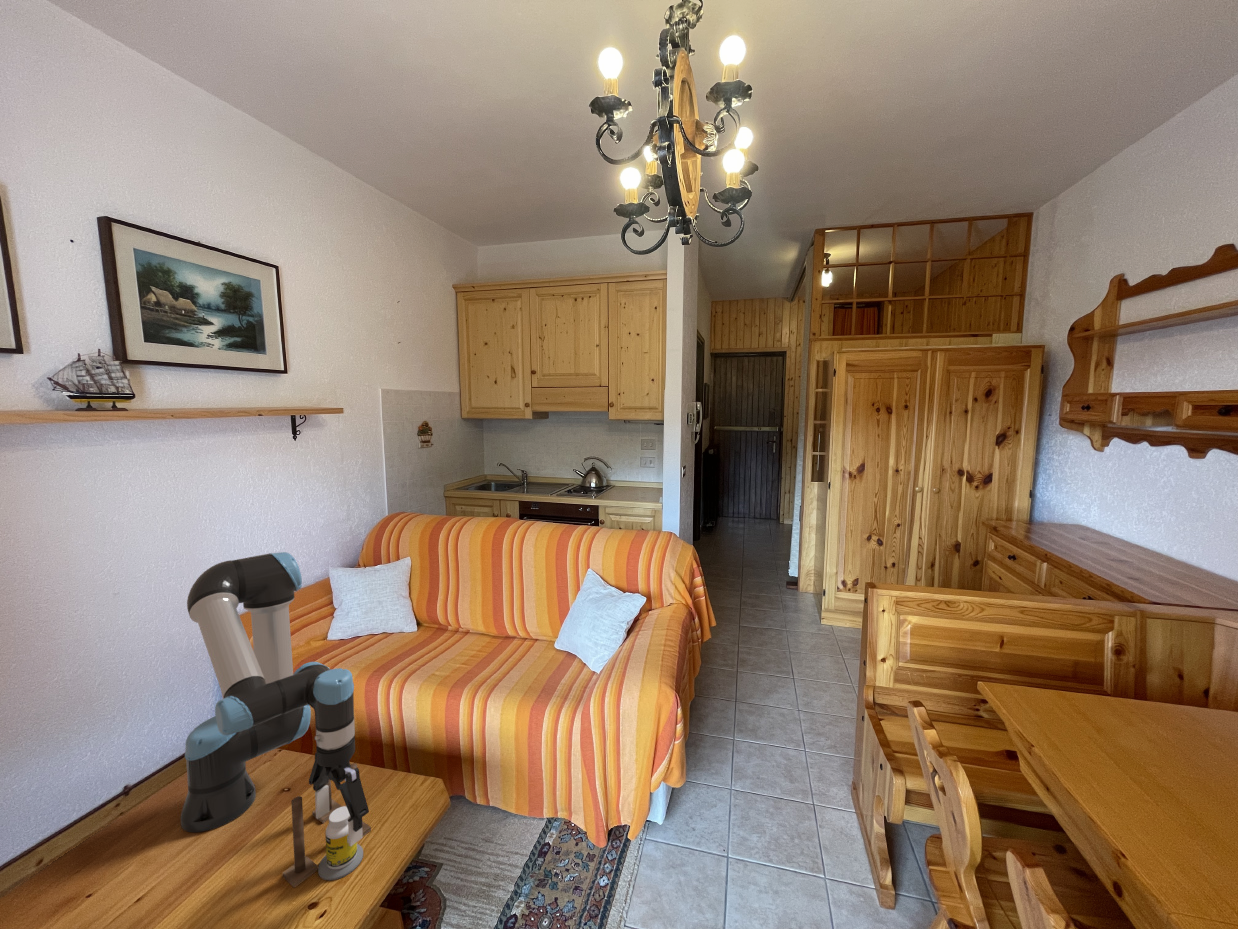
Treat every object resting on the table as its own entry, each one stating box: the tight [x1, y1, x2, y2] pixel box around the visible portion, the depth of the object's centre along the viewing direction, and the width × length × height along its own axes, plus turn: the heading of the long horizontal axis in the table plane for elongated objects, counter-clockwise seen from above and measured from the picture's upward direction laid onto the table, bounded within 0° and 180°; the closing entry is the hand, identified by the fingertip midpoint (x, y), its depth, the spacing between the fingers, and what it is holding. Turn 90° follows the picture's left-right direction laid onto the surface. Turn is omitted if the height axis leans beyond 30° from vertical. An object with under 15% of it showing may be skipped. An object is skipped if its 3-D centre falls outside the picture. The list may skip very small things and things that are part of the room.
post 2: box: [311, 779, 343, 824], centre depth 125 cm, size 5×5×18 cm
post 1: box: [282, 795, 319, 889], centre depth 108 cm, size 5×5×18 cm
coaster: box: [317, 843, 364, 881], centre depth 111 cm, size 9×9×1 cm
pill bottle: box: [325, 805, 358, 870], centre depth 111 cm, size 6×6×11 cm
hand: (338, 827), depth 111 cm, fingers open, 13 cm apart
